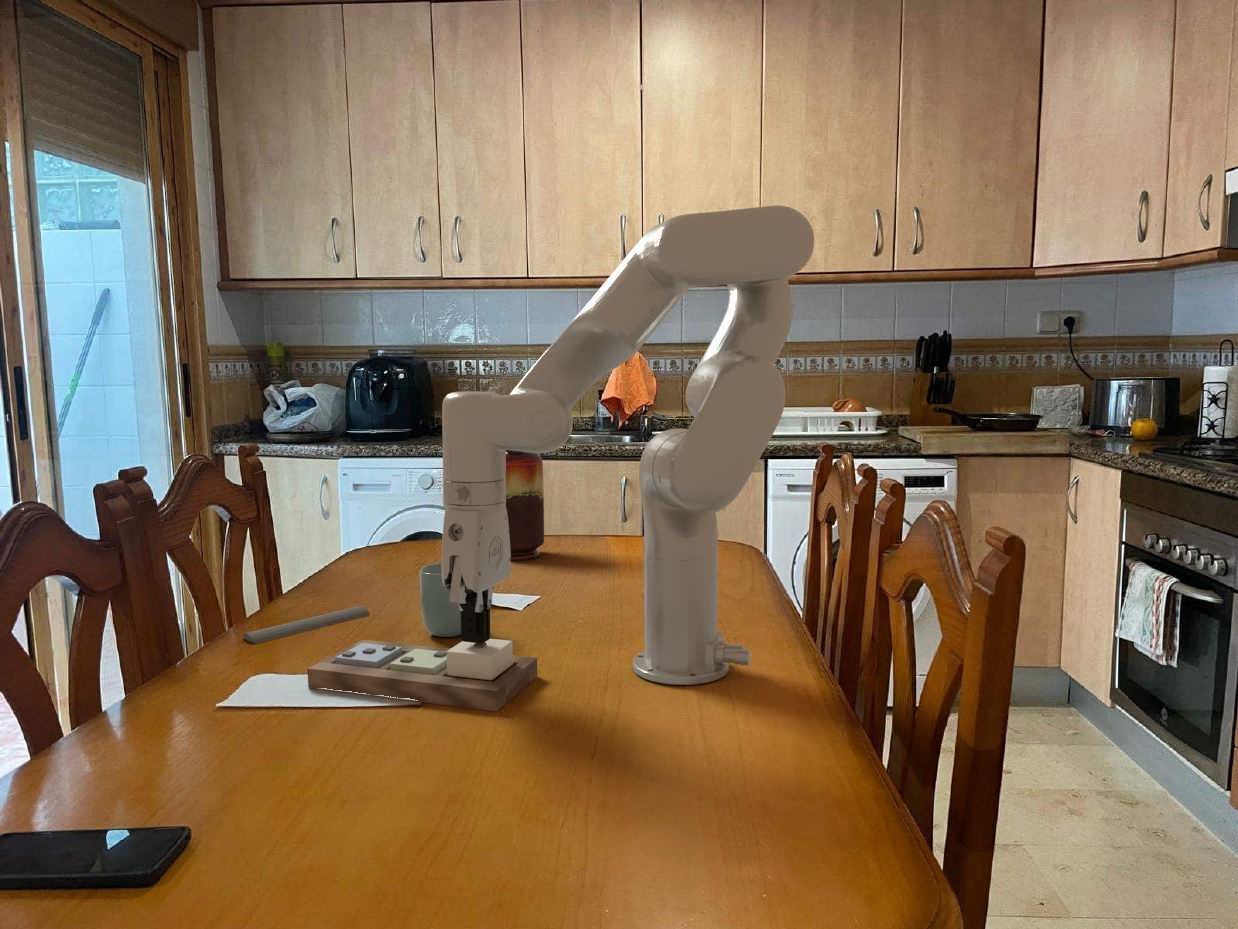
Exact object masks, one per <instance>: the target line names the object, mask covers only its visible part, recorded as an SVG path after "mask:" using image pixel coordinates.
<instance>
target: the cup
mask: <svg viewBox="0 0 1238 929" xmlns="http://www.w3.org/2000/svg"><path fill="white" fill-rule="evenodd" d="M465 585H466V584H465ZM419 588H420V589H419V591H420V592H419V594H420V607H421V609H420V610H421V615H422V621H423V625H424V627H425V628H426V630H427V632H428V633H429V634H430V635H432V636H436V637H438V638H439V637H440V638H452V637H453V638H454V637H458V636H461V611H460V610H459V606H458V603H451V602H450V591H451V590H448V589H446V588H445V587H444V585H443V581H442V562H436V563H431V564H428V565H425V566H423V567H421V568H420V570H419Z"/></svg>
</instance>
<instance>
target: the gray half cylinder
mask: <svg viewBox="0 0 1238 929" xmlns="http://www.w3.org/2000/svg"><path fill="white" fill-rule="evenodd" d="M369 615H370V612H369V610H368V608H367V607H366V606H365V605H358V606H353V607H350V608H345V609H341V610H338V611H332V612H329V613H325V614H320V615H317V616H312V617H308V618H303V619H300V620H295V621H291V622H287V623H283V624H278V625H274V626H270V627H267V628H262V629H258V630H254V631H249V632H246V633H243V634H242V636H241V638H242V639H243V640H244V641H247V642H250V643H252V644H255V645H257V644H258V645H259V644H261V643H262V644H263V643H265V642H271V641H274V640H278V639H281V638H286V637H289V636H293V635H297V634H302V633H304V632H305V631H306V632H309V631H308V630H310V631H313V630H317V628H318V629H321V628H320V627H322V628H324V627H323V626H326V627H330V626H334V625H336V624H335V623H337V624H340V623H345V622H348V620H349V621H352V620H357V619H361V618H365V617H369ZM333 624H334V625H333ZM329 625H330V626H329Z"/></svg>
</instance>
